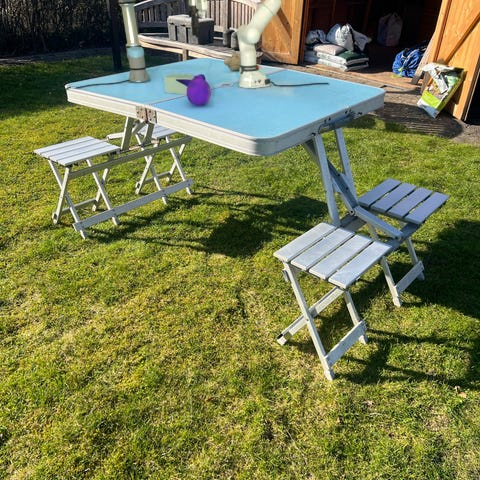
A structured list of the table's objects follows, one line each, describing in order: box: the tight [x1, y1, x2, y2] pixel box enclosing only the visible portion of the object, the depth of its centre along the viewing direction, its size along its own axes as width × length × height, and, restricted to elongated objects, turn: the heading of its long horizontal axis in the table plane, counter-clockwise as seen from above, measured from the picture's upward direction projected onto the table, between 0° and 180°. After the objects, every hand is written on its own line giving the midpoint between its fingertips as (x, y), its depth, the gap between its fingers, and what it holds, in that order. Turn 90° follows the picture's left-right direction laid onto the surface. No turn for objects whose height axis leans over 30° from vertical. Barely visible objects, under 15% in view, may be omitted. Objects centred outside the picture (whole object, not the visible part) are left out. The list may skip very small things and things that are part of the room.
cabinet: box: [163, 73, 198, 95], centre depth 302 cm, size 20×12×10 cm, turn 70°
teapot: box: [223, 50, 240, 72], centre depth 366 cm, size 21×12×15 cm, turn 120°
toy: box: [176, 73, 212, 107], centre depth 271 cm, size 16×18×27 cm
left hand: (195, 36), depth 348 cm, fingers open, 13 cm apart
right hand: (202, 18), depth 286 cm, fingers open, 8 cm apart
